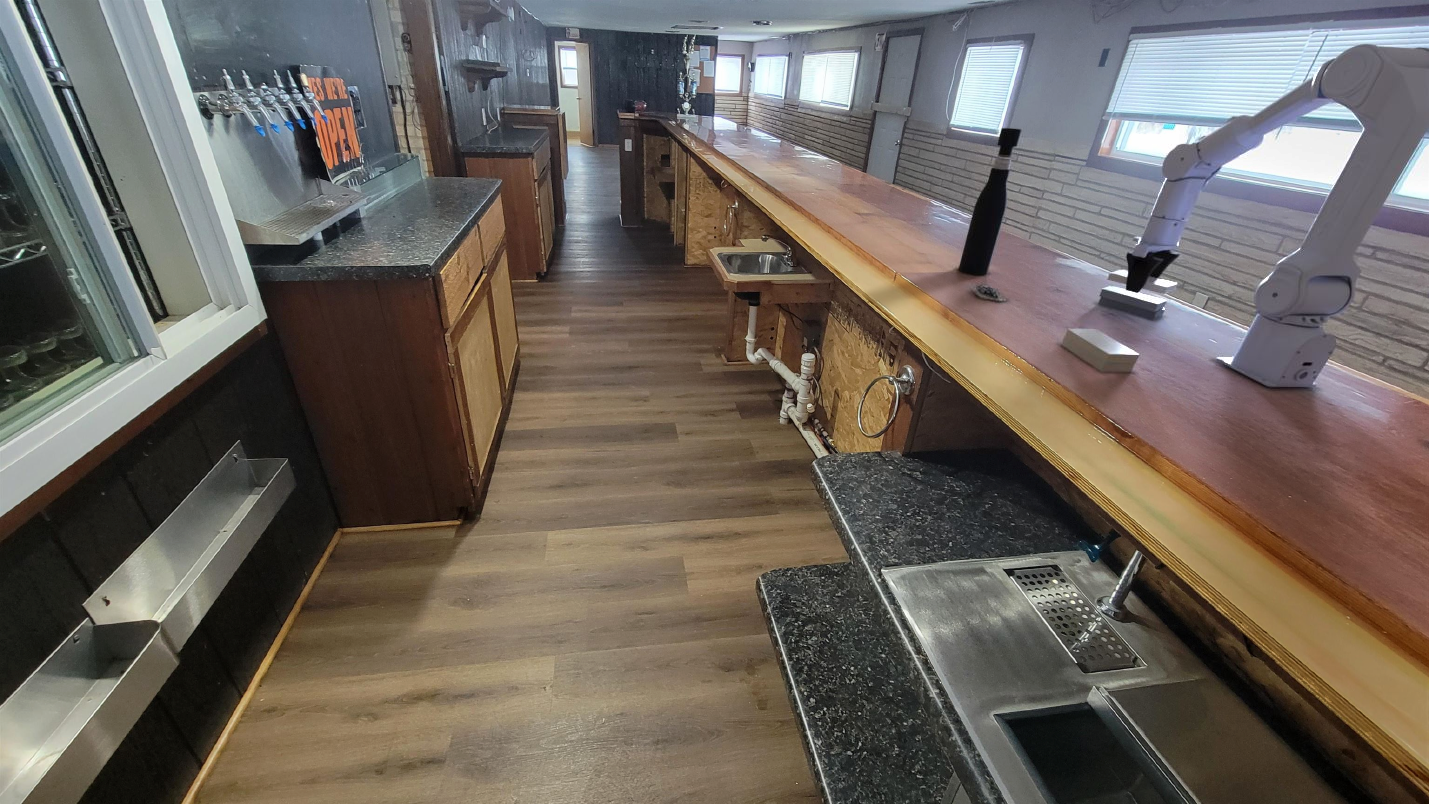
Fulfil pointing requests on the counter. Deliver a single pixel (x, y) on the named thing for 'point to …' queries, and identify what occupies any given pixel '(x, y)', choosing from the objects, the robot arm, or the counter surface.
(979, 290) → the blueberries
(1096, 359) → the cream rectangular block
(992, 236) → the wine bottle
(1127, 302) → the grey books
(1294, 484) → the counter surface
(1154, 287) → the white book
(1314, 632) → the counter surface
